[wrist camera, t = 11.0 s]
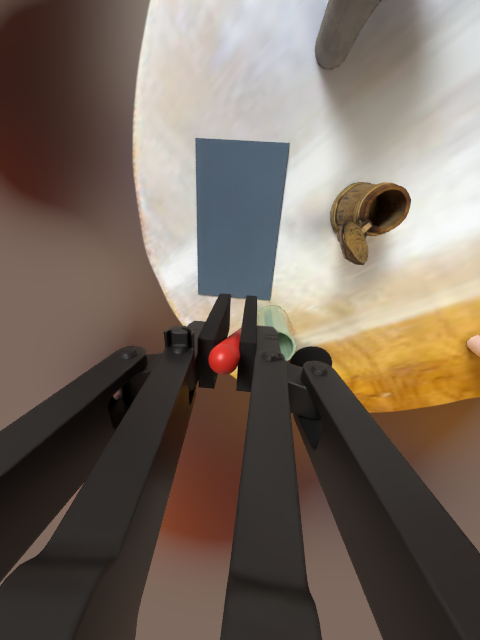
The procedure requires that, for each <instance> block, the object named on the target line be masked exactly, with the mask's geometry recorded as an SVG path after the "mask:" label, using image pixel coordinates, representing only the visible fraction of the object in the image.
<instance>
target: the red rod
mask: <svg viewBox="0 0 480 640" xmlns="http://www.w3.org/2000/svg"><path fill="white" fill-rule="evenodd" d="M241 329H242V328H240V329H239V330H237V331H236V332H235V333H233V334H232V335H231V336H229V337H228V338H226V339H225V340H224V341H222V342H221V343H220V344H218V345H217V346H215V347H214V348H213V349H212V350H211V352H210V354H209V358H208V360H209V365H210V367H211V369H212V370H213V371H214V372H216V373H218V374H221V375H226V374H230V373H231V372H233V371H234V370H235V369H236V368H237V366H238V363H239V359H240V352H239V342H240V335H241Z"/></svg>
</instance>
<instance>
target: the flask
mask: <svg viewBox="0 0 480 640" xmlns="http://www.w3.org/2000/svg"><path fill="white" fill-rule="evenodd" d="M380 1H381V0H329V2H328V5H327V8H326V11H325V14H324V17H323V20H322V23H321V26H320V29H319V33H318V36H317V39H316V46H315V53H316V59H317V60H318V62H319V64H320V65H321V66H322V67H324V68H325V69H333V68H336V67H338V66H339V65H340V64H341V63H342V62H343V61H344V60H345V58H346V56H347V54H348V52H349V50H350V48H351V47H352V45H353V43H354V41H355V39H356V37H357V35H358V34H359V32H360V30H361V28H362V26H363V24H364V23H365V21H366V20H367V18H368V17H369V15H370V14H371V13H372V11H373V10H374V9H375V7H376V6H377V5H378V4H379V2H380Z"/></svg>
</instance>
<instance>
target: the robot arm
mask: <svg viewBox="0 0 480 640" xmlns="http://www.w3.org/2000/svg"><path fill="white" fill-rule="evenodd" d="M230 301H231V294H224V293H220V295H219V297H218V299H217V300H216V302H215V304H214V306H213V308H212V310H211V312H210V314H209V316H208V318H207V320H206V322H203V321H193V322H192V323H190V324H189V325H188V326H187V327H186V326H175V327H171V328H169V329H167V330H165V331H164V339H165V350H164V351H163V353H159V354H152V355H146V350H145V349H144V348H142V347H140V346H127V347H124V348H121V349H119V350H118V351H116V352H114V353H113V354H111V355H110V356H109V357H107V358H106V359H104V360H103V361H102V362H100V363H98V364H97V365H95V366H94V367H92V368H91V369H90V370H88V371H87V372H85V373H84V374H82V375H81V376H80V377H78V378H77V379H75V380H74V381H72V382H71V383H69V384H68V385H66V386H65V387H64V388H62V389H61V390H59V391H58V392H56V393H55V394H53V395H52V396H51V397H49V398H48V399H46V400H45V401H43V402H42V403H40V404H39V405H38V406H36V407H35V408H33V409H32V410H30V411H29V412H27V413H26V414H25V415H23V416H22V417H20V418H19V419H17V420H16V421H14V422H13V423H12V424H10V425H9V426H7V427H6V428H4V429H3V430H1V431H0V582H1V581H2V580H3V578H4V577H5V576H6V575H7V573H8V572H9V571H10V570H11V569H12V568H13V566H14V565H15V564H16V563H17V562H18V560H19V559H20V558H21V557H22V556H23V555H24V553H25V552H26V551H27V550H28V548H29V547H30V546H31V545H32V544H33V543H34V541H35V540H36V539H37V538H38V537H39V535H40V534H41V533H42V532H43V531H44V530H45V528H46V527H47V526H48V524H49V523H50V522H51V521H52V520H53V519H54V517H55V516H56V515H57V514H58V513H59V512H60V510H61V509H62V508H63V507H64V506H65V505H66V503H67V502H68V501H69V499H71V497H72V496H73V495H74V494H75V493H76V491H77V490H78V489H79V488H80V486H81V485H82V484H83V483H84V484H83V486H82V488H81V489H80V491H79V492H78V494H77V496H76V497H75V499H74V501H73V502H72V504H71V506H70V508H69V509H68V511H67V512H66V514H65V516H64V517H63V519H62V521H61V522H60V524H59V526H58V527H57V529H56V531H55V532H54V534H53V536H52V537H51V539H50V541H49V542H48V543H47V545H46V546H45V548H44V549H43V550H42V551H41V552H40V553H39V554H38V555H37V556H36V557H34V558H32V559H30V560H28V561H26V562H24V563H23V564H20V565H19V566H18V567H17V568H16V569H15V570H14V571H13V572H12V573H11V574H10V575H9V576H8V577H7V578H6V579H5V580H4V582H3V583H2V584H1V586H0V640H135V635H136V626H137V617H138V611H139V606H140V603H141V598H142V594H143V591H144V587H145V583H146V580H147V576H148V572H149V568H150V565H151V561H152V557H153V554H154V550H155V546H156V542H157V539H158V535H159V531H160V527H161V523H162V520H163V516H164V513H165V509H166V505H167V501H168V498H169V494H170V490H171V486H172V483H173V479H174V475H175V471H176V468H177V464H178V460H179V457H180V453H181V449H182V445H183V441H184V438H185V434H186V430H187V427H188V423H189V419H190V416H191V412H192V408H193V404H194V401H195V397H196V384H197V382H198V380H199V387H203V388H213V389H214V387H215V383H216V379H217V375H218V373H216V372H214V371H213V370H212V369H211V367H210V365H209V360H208V358H209V354H210V352H211V350H212V349H213V348H214V347H215V346H217V345H218V344H220V343H221V342H222V341H224V340H225V339H226V338H227V336H228V332H229V326H230ZM239 352H240V359H239V363H238V374H237V389H236V390H237V391H245V392H251V395H250V403H249V412H248V420H247V429H246V436H245V445H244V454H243V461H242V470H241V479H240V486H239V494H238V503H237V511H236V519H235V528H234V536H233V544H232V552H231V560H230V569H229V576H228V582H227V590H226V597H225V605H224V613H223V622H222V629H221V638H220V640H322V636H321V630H320V623H319V618H318V614H317V609H316V605H315V602H314V600H313V598H312V596H311V593H310V591H309V587H308V582H307V575H306V565H305V556H304V545H303V534H302V525H301V514H300V504H299V494H298V484H297V473H296V463H295V454H294V443H293V433H292V423H291V413H293V415H294V419H295V422H296V424H297V426H298V429H299V432H300V434H301V437H302V439H303V442H304V444H305V446H306V449H307V452H308V454H309V457H310V459H311V462H312V464H313V467H314V469H315V472H316V474H317V476H318V479H319V481H320V484H321V486H322V489H323V491H324V494H325V496H326V499H327V501H328V504H329V506H330V509H331V511H332V514H333V516H334V519H335V521H336V524H337V526H338V529H339V531H340V534H341V536H342V539H343V541H344V543H345V546H346V549H347V551H348V554H349V556H350V558H351V561H352V564H353V566H354V569H355V571H356V574H357V576H358V579H359V581H360V583H361V586H362V589H363V591H364V594H365V596H366V598H367V601H368V603H369V606H370V608H371V611H372V613H373V616H374V618H375V621H376V623H377V626H378V628H379V631H380V633H381V636H382V638H383V640H480V553H479V552H478V550H477V549H476V548H475V546H474V545H473V544H472V543H471V542H470V540H469V539H468V538H467V536H466V535H465V534H464V533H463V531H462V530H461V529H460V528H459V526H458V525H457V524H456V522H455V521H454V520H453V519H452V517H451V516H450V515H449V514H448V512H447V511H446V510H445V509H444V507H443V506H442V505H441V504H440V503H439V501H438V500H437V499H436V497H435V496H434V495H433V493H432V492H431V491H430V490H429V489H428V487H427V486H426V485H425V483H424V482H423V481H422V480H421V478H420V477H419V476H418V475H417V473H416V472H415V471H414V470H413V468H412V467H411V466H410V465H409V463H408V462H407V461H406V459H405V458H404V457H403V456H402V454H401V453H400V452H399V451H398V449H397V448H396V447H395V446H394V444H393V443H392V442H391V441H390V439H389V438H388V437H387V435H386V434H385V433H384V432H383V431H382V429H381V428H380V427H379V425H378V424H377V423H376V422H375V420H374V419H373V418H372V417H371V415H370V414H369V413H368V411H367V410H366V409H365V408H364V406H363V405H362V404H361V403H360V401H359V400H358V399H357V398H356V396H355V395H354V394H353V393H352V391H351V390H350V389H349V387H348V386H347V385H346V384H345V382H344V381H343V380H342V379H341V377H340V376H339V375H338V374H337V372H336V371H335V370H334V369H333V368H332V367H331V366H329V365H328V364H326V363H323V362H320V361H308V362H306V363H304V365H303V367H299V366H296V365H293V364H291V363H289V362H287V361H286V360H285V357H284V355H283V354H282V353H281V350H280V344H279V339H278V333H277V330H276V329H275V328H274V327H272V326H260V325H257V296H250V295H246V301H245V308H244V315H243V322H242V329H241V335H240V342H239ZM118 390H119V393H120V394H119V395H118V396H117V397H115V398H114V397H113V395H114V394H115V393H116V392H117V391H118Z"/></svg>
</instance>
